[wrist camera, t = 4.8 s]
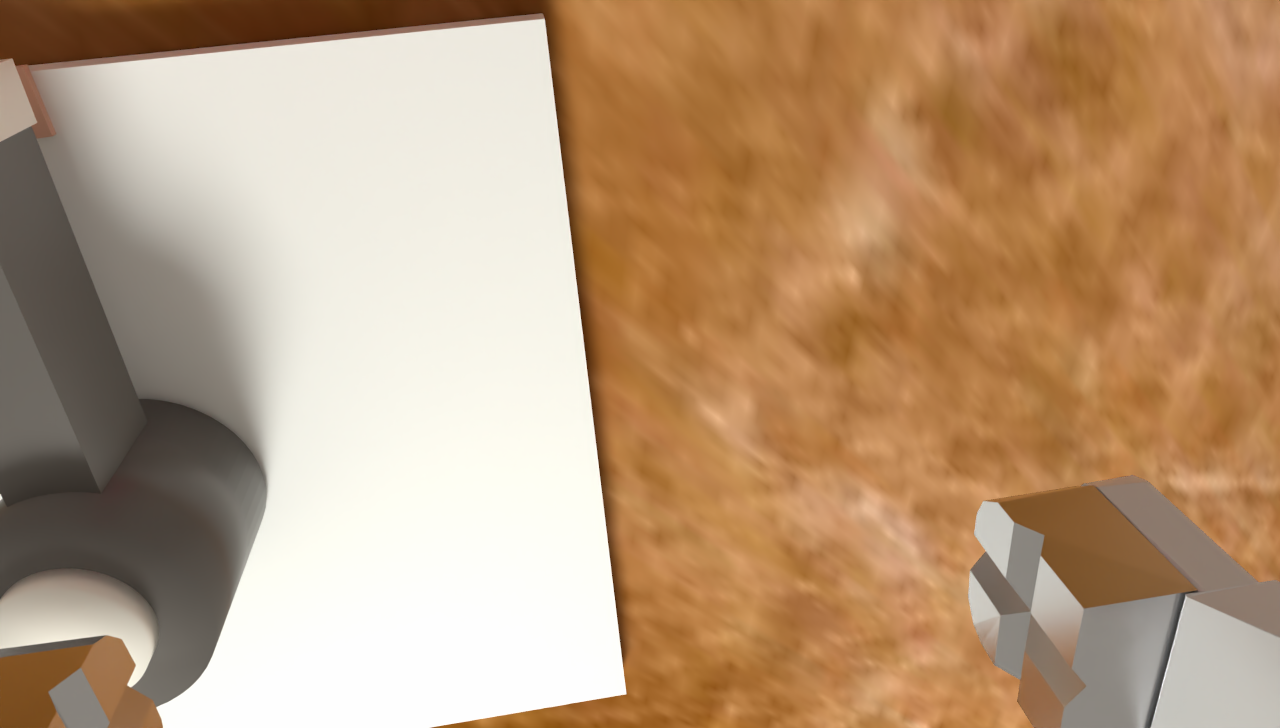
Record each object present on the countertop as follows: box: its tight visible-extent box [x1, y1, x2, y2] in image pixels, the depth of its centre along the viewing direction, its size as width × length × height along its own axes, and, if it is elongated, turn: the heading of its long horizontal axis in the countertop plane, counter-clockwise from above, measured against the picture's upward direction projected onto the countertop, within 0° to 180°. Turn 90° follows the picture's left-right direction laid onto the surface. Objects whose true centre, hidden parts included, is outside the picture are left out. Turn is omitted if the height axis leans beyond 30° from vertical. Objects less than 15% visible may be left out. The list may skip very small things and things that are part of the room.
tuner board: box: [0, 13, 626, 728], centre depth 23 cm, size 22×20×1 cm
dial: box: [0, 59, 267, 707], centre depth 18 cm, size 13×5×5 cm, turn 5°
